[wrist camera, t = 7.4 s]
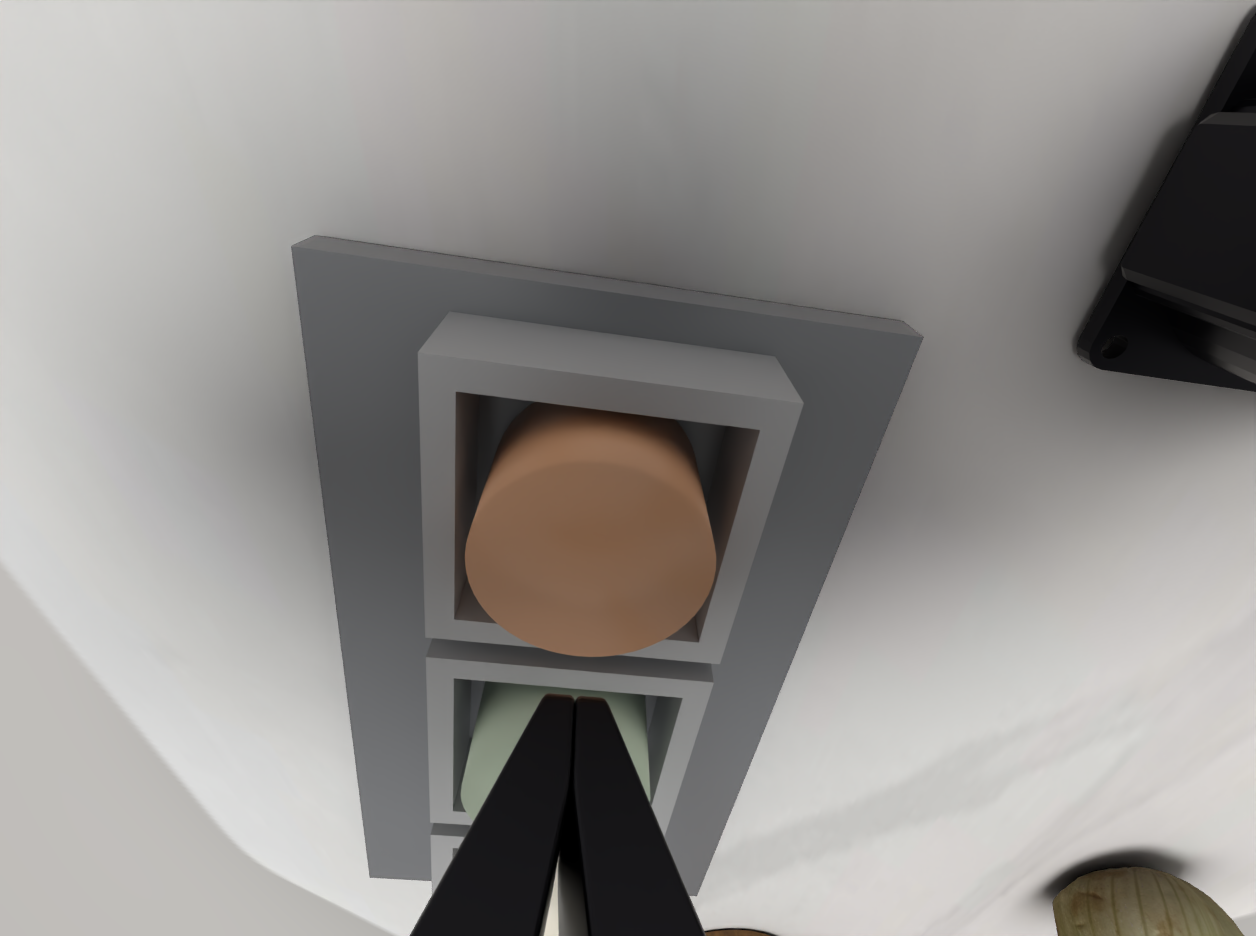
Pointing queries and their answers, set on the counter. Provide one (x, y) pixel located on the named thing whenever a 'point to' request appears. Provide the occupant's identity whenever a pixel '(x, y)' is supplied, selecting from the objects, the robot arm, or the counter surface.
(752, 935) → the mortar and pestle
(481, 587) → the button terracotta
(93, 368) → the counter surface
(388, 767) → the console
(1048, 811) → the counter surface
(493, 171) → the counter surface
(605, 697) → the button sage
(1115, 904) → the fennel bulb
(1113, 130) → the counter surface
